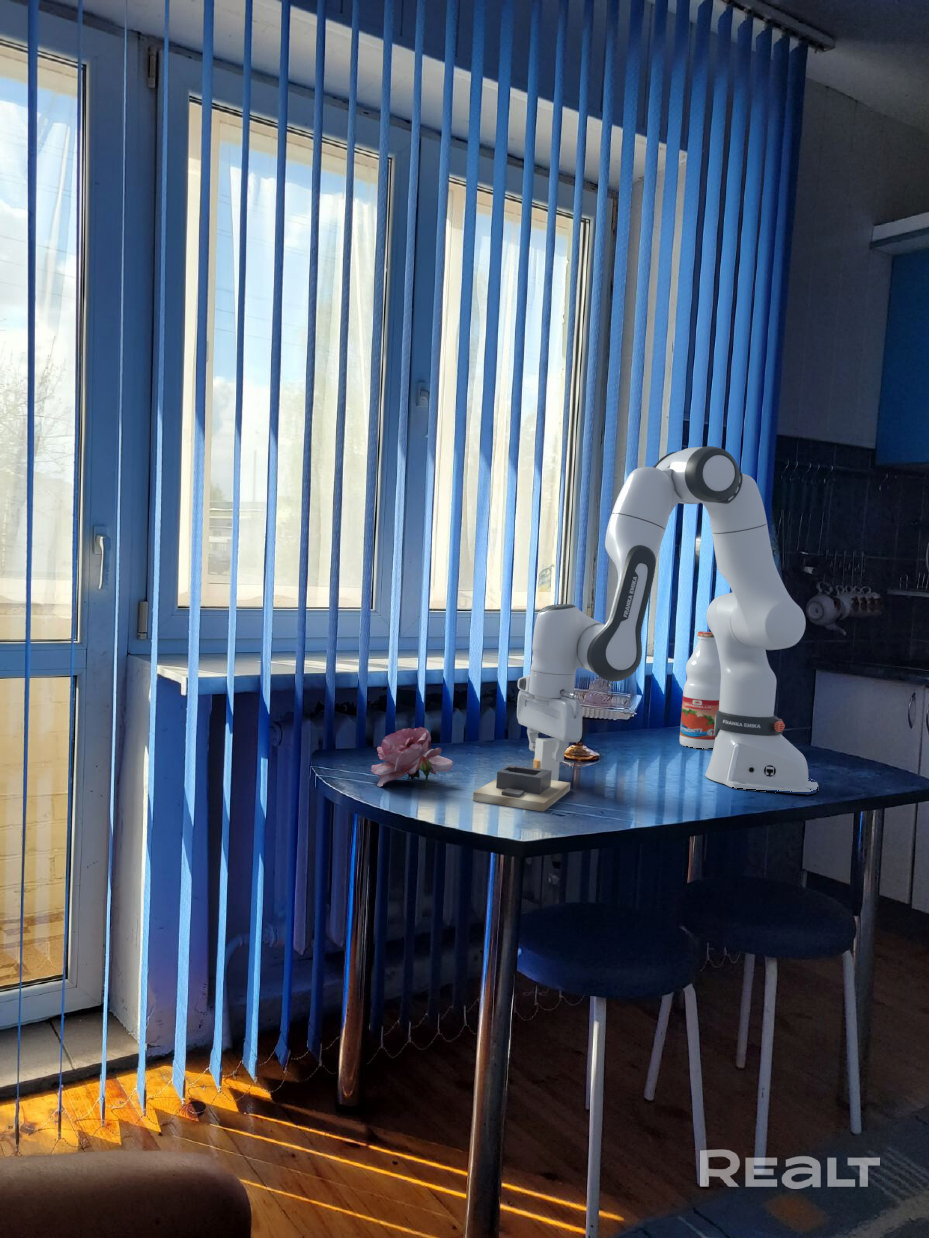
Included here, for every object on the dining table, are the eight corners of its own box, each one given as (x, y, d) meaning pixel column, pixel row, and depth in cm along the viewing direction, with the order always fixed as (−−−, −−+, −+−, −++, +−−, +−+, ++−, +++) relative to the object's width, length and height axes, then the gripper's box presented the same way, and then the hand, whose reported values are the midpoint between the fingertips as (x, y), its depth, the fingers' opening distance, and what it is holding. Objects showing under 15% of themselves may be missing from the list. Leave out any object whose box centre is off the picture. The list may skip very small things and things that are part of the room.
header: (550, 786, 186) (551, 770, 186) (539, 794, 179) (540, 777, 179) (508, 780, 189) (509, 764, 189) (496, 787, 182) (497, 771, 182)
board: (569, 790, 190) (570, 779, 190) (543, 811, 174) (544, 799, 173) (504, 780, 195) (505, 770, 195) (472, 800, 178) (473, 788, 178)
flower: (408, 755, 199) (406, 710, 195) (465, 779, 190) (463, 733, 186) (353, 786, 188) (350, 739, 185) (410, 813, 179) (407, 764, 176)
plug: (550, 777, 200) (553, 737, 200) (558, 781, 198) (561, 740, 197) (530, 778, 198) (533, 738, 198) (537, 781, 196) (540, 741, 195)
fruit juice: (724, 746, 247) (733, 633, 245) (710, 751, 239) (719, 634, 237) (687, 740, 252) (696, 629, 250) (672, 745, 245) (682, 630, 243)
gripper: (593, 695, 189) (587, 767, 190) (540, 679, 207) (535, 745, 208) (564, 694, 186) (558, 768, 187) (513, 678, 205) (508, 745, 206)
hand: (545, 755), depth 198 cm, fingers open, 8 cm apart
